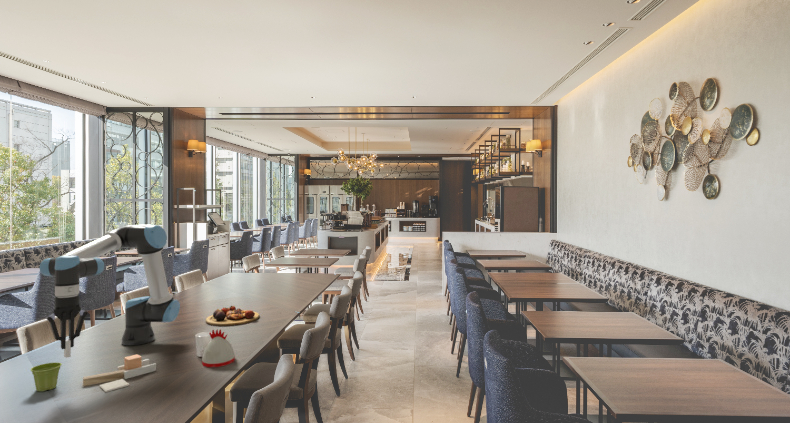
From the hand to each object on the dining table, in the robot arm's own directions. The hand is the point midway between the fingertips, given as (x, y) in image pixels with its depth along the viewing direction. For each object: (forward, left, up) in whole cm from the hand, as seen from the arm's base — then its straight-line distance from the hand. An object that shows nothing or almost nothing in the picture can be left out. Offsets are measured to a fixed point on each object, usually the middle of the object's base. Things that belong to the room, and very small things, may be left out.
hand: (67, 356), depth 163 cm
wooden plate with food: (-49, +95, -14) cm, 108 cm away
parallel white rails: (0, +24, -13) cm, 28 cm away
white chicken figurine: (+15, +53, -14) cm, 57 cm away
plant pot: (-9, -5, -14) cm, 17 cm away
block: (0, +23, -14) cm, 26 cm away
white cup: (+1, +53, -14) cm, 55 cm away
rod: (0, +12, -14) cm, 18 cm away
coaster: (+9, +13, -13) cm, 21 cm away
